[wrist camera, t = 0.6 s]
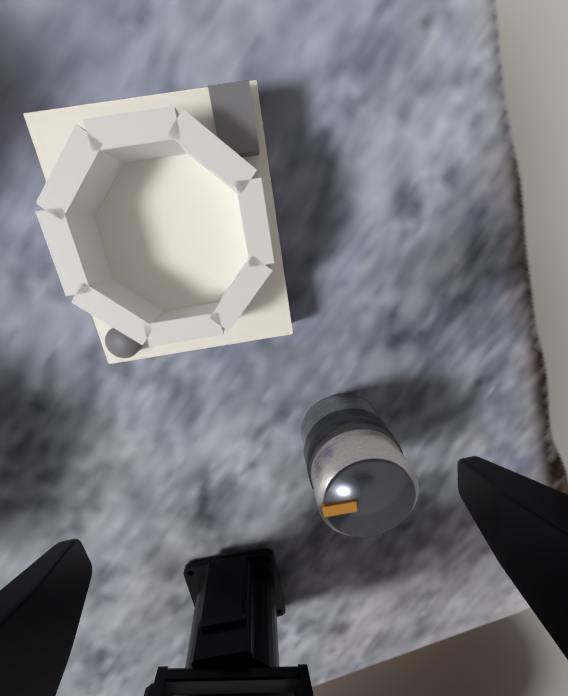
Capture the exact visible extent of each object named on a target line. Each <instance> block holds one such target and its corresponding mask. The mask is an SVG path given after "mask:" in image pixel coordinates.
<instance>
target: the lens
mask: <svg viewBox="0 0 568 696" xmlns="http://www.w3.org/2000/svg"><path fill="white" fill-rule="evenodd" d="M301 435H302V440H303V444H304V456H305V461H306V466H307V470H308V475H309V479H310V483H311V486H312V488H313V490H314V493H315V497H316V502H317V506H318V511H319V513H320V516H321V517H322V519H323V521H324V522H325V523H326V524H327V525H328V526H329V527H330V528H332V529H333V530H335V531H337V532H339V533H341V534H344V535H348V536H354V537H372V536H377V535H380V534H383V533H386V532H388V531H390V530H392V529H394V528H395V527H397V526H398V525H399V524H400V523H402V522H403V521H404V520H405V519H406V517H407V516H408V515H409V514H410V512H411V511H412V510H413V508H414V506H415V504H416V501H417V499H418V494H419V483H418V479H417V476H416V474H415V472H414V471H413V469H412V468H411V466H410V464H409V463H408V461H407V460H406V458H405V457H404V455H403V452H402V450H401V448H400V446H399V444H398V443H397V441H396V440H395V438H394V437H393V435H392V434H391V432H390V431H389V429H388V428H387V426H386V425H385V423H384V422H383V421H382V420H381V419H380V418H379V417H378V416H377V414H376V413H375V411H374V410H373V408H372V407H371V406H370V405H369V404H368V403H367V402H366V401H365V400H363V399H361V398H359V397H357V396H354V395H349V394H338V395H332V396H329V397H326V398H324V399H322V400H320V401H319V402H317V403H316V404H315V405H314V406H312V408H311V409H310V410H309V411H308V412H307V414H306V416H305V417H304V420H303V423H302V428H301Z"/></svg>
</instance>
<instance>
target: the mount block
mask: <svg viewBox="0 0 568 696" xmlns="http://www.w3.org/2000/svg"><path fill="white" fill-rule="evenodd" d="M23 114H24V117H25V120H26V123H27V126H28V129H29V132H30V135H31V138H32V141H33V144H34V147H35V149H36V152H37V155H38V158H39V161H40V164H41V167H42V170H43V173H44V176H45V179H46V184H45V186H44V188H43V190H42V192H41V194H40V196H39V198H38V200H37V202H36V204H38V205H39V206H41V207H42V208H44V209H45V210H42V211H35V212H36V214H37V217H38V220H39V223H40V225H41V228H42V231H43V234H44V237H45V239H46V242H47V245H48V248H49V250H50V253H51V256H52V259H53V261H54V264H55V267H56V270H57V273H58V275H59V278H60V281H61V284H62V286H63V289H64V292H65V295H66V296H69V295H75V296H74V298H73V300H72V303H73V304H75V305H77V306H78V307H80V308H82V309H83V310H85V311H87V312H88V313H90V314H91V315H92V316H93V319H94V322H95V325H96V328H97V331H98V334H99V337H100V340H101V343H102V345H103V348H104V351H105V354H106V357H107V360H108V363H109V364H112V363H118V362H124V361H130V360H136V359H143V358H149V357H155V356H161V355H167V354H173V353H179V352H185V351H191V350H198V349H204V348H210V347H216V346H222V345H228V344H234V343H240V342H247V341H253V340H259V339H265V338H271V337H277V336H283V335H289V334H293V331H292V324H291V317H290V310H289V303H288V296H287V289H286V282H285V275H284V268H283V261H282V254H281V248H280V241H279V234H278V227H277V220H276V213H275V206H274V199H273V192H272V185H271V178H270V171H269V164H268V157H267V150H266V143H265V136H264V129H263V122H262V115H261V108H260V101H259V94H258V87H257V80H254V81H249V80H246V81H239V82H232V83H225V84H218V85H211V86H208V87H205V88H198V89H191V90H184V91H177V92H170V93H163V94H156V95H149V96H142V97H135V98H128V99H121V100H114V101H107V102H100V103H93V104H86V105H79V106H72V107H65V108H58V109H51V110H44V111H37V112H30V113H23Z"/></svg>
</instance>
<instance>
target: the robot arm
mask: <svg viewBox="0 0 568 696" xmlns="http://www.w3.org/2000/svg"><path fill="white" fill-rule="evenodd" d="M457 466H458V490H459V493H460V496H461V498H462V500H463V502H464V503H465V505H466V507H467V509H468V510H469V512H470V514H471V515H472V517H473V519H474V521H475V522H476V524H477V526H478V528H479V529H480V531H481V533H482V535H483V536H484V538H485V540H486V541H487V543H488V545H489V547H490V548H491V550H492V552H493V553H494V555H495V557H496V558H497V560H498V562H499V563H500V565H501V566H502V568H503V569H504V570H505V572H506V573H507V575H508V576H509V578H510V579H511V580H512V582H513V583H514V585H515V586H516V588H517V589H518V590H519V592H520V593H521V595H522V596H523V597H524V599H525V600H526V602H527V603H528V604H529V606H530V607H531V609H532V610H533V611H534V613H535V614H536V615H537V617H538V618H539V620H540V621H541V623H542V624H543V625H544V627H545V628H546V630H547V631H548V632H549V634H550V635H551V637H552V638H553V639H554V641H555V643H556V644H557V645H558V647H559V648H560V650H561V651H562V652H563V654H564V655H565V657H566V658H567V659H568V495H567V494H565V493H563V492H560V491H558V490H555V489H553V488H551V487H548V486H546V485H544V484H541V483H539V482H537V481H534V480H532V479H530V478H527V477H525V476H522V475H520V474H518V473H515V472H513V471H511V470H508V469H506V468H504V467H501V466H499V465H496V464H494V463H492V462H489V461H487V460H485V459H482V458H480V457H477V456H472V457H467V458H463V459H460V460H459V461H458V465H457ZM91 576H92V565H91V562H90V560H89V558H88V556H87V553H86V551H85V549H84V547H83V545H82V543H81V541H80V540H78V539H71V540H66V541H62V542H59V543H57V544H56V545H54V546H53V547H52V548H51V549H50V550H48V551H47V552H46V553H45V554H44V555H42V556H41V557H40V558H39V559H38V560H36V561H35V562H34V563H33V564H32V565H30V566H29V567H28V568H27V569H26V570H24V571H23V572H22V573H21V574H20V575H18V576H17V577H16V578H15V579H14V580H12V581H11V582H10V583H9V584H8V585H6V586H5V587H4V588H3V589H2V590H0V696H55V695H56V693H57V690H58V687H59V684H60V681H61V679H62V676H63V673H64V670H65V668H66V665H67V662H68V659H69V656H70V653H71V649H72V646H73V643H74V639H75V636H76V632H77V628H78V624H79V621H80V617H81V613H82V610H83V606H84V602H85V599H86V595H87V591H88V588H89V584H90V580H91ZM184 577H185V580H186V583H187V586H188V589H189V592H190V594H191V597H192V600H193V603H194V606H195V610H194V616H193V622H192V628H191V635H190V641H189V647H188V653H187V660H186V666H185V668H169V669H168V666H163V667H158V670H157V674H156V678H155V681H154V683H151V685H150V686H148V687H147V688H146V690H145V694H144V696H313V691H312V686H311V681H310V676H309V671H308V667H307V664H298V666H295V667H279V652H278V633H277V617H278V616H282V615H283V614H284V613H285V603H284V598H283V594H282V589H281V584H280V579H279V574H278V570H277V565H276V560H275V555H274V552H273V551H272V550H269V549H266V550H260V551H254V552H249V553H243V554H238V555H232V556H227V557H221V558H216V559H210V560H205V561H199V562H193V563H189V564H187V565H186V566H185V569H184Z"/></svg>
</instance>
